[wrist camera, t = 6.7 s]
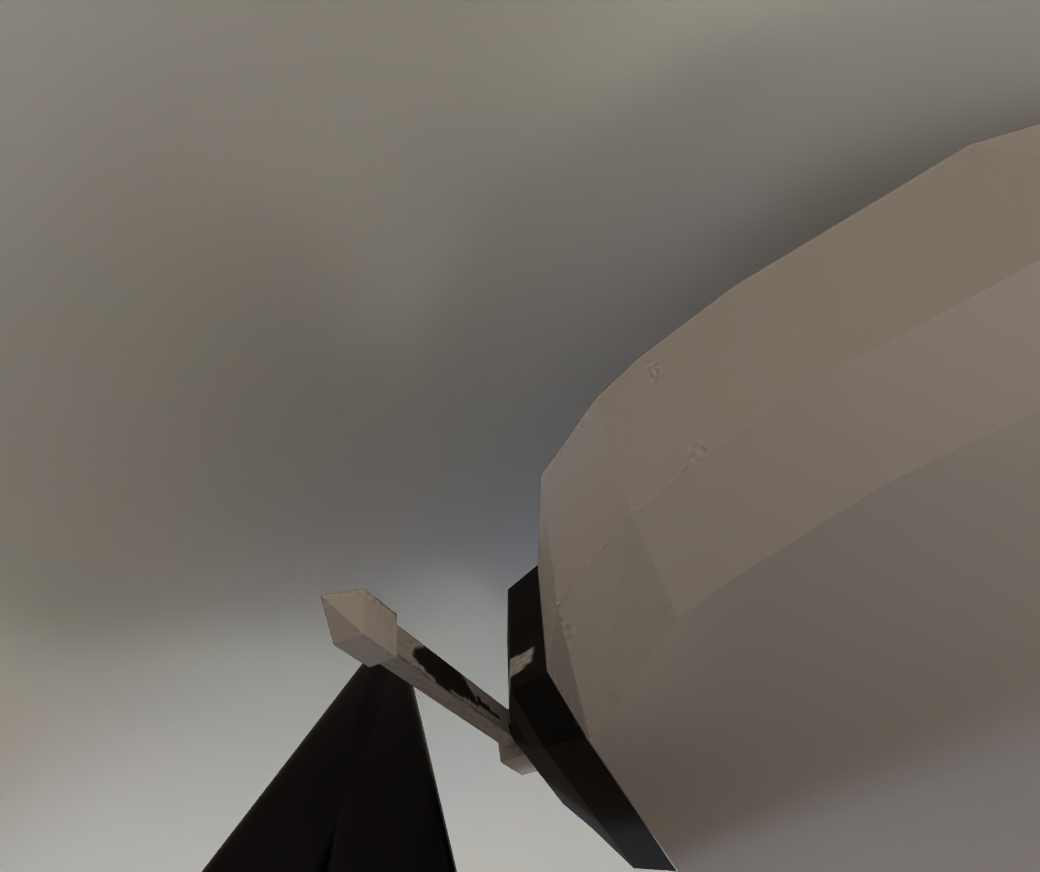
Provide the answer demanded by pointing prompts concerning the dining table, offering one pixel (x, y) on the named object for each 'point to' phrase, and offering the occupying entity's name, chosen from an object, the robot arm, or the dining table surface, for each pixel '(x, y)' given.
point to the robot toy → (798, 560)
